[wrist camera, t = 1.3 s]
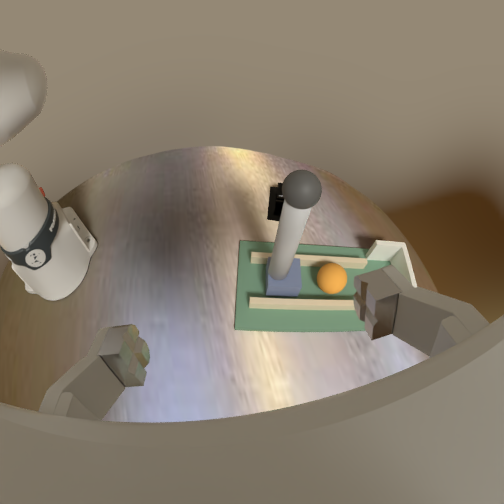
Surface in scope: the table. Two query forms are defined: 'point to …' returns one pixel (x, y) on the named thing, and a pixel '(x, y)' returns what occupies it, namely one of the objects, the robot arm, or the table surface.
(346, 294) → the pitch
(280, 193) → the black boxy piece
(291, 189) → the lever
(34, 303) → the table surface
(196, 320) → the table surface
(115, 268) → the table surface
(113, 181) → the table surface
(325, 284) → the ball
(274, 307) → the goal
